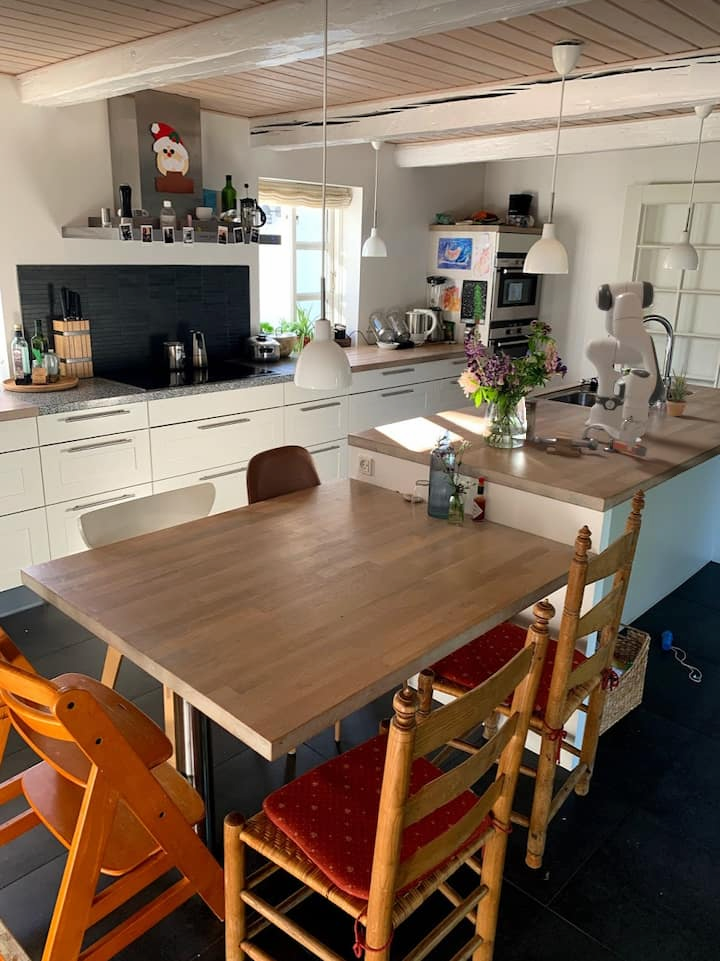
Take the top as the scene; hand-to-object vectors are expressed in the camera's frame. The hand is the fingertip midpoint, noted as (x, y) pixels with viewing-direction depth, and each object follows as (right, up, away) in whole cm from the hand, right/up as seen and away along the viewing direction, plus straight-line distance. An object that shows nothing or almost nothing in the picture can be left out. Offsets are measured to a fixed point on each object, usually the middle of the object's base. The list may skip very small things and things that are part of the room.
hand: (630, 450), depth 286 cm
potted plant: (+49, +20, +77) cm, 94 cm away
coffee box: (-35, +6, +26) cm, 44 cm away
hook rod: (-23, +2, +8) cm, 24 cm away
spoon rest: (0, +3, +22) cm, 22 cm away
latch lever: (+1, -1, +4) cm, 4 cm away
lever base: (-4, 0, +11) cm, 11 cm away
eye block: (-23, 0, +8) cm, 25 cm away
